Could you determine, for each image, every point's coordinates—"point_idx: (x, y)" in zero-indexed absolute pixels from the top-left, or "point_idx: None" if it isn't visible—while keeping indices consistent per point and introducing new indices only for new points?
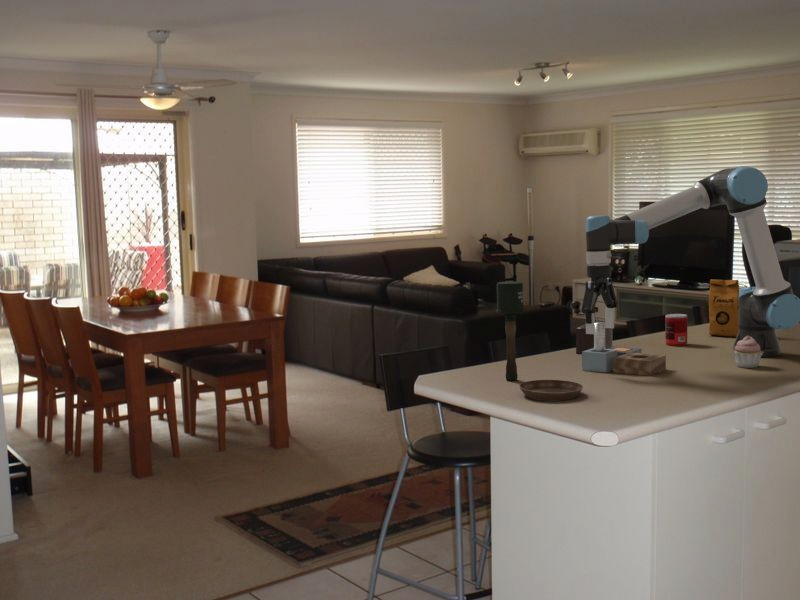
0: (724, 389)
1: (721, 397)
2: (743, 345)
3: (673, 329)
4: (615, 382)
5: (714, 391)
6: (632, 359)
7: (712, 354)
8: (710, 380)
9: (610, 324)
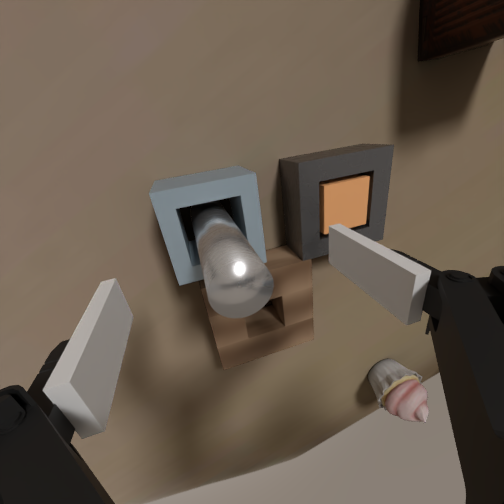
0: (197, 461)
1: (141, 494)
2: (397, 410)
3: None
4: None
5: (173, 466)
6: (215, 334)
7: (473, 272)
8: (248, 414)
9: (338, 259)
